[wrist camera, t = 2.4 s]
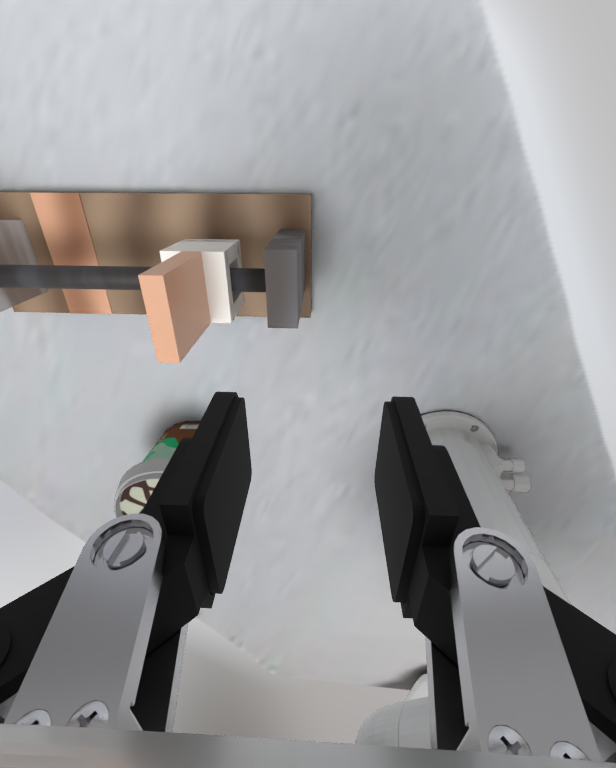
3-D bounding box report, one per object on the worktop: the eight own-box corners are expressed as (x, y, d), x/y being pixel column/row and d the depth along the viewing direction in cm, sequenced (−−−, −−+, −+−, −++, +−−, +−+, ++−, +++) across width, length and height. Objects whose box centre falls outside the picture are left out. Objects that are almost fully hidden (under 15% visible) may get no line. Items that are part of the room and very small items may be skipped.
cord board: (311, 193, 30) (304, 204, 20) (310, 312, 35) (304, 368, 25) (-21, 191, 31) (-188, 200, 21) (25, 306, 36) (-91, 358, 26)
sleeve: (239, 239, 26) (192, 275, 17) (244, 301, 29) (205, 363, 19) (184, 239, 26) (108, 274, 17) (194, 301, 29) (132, 361, 20)
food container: (158, 397, 40) (112, 458, 32) (212, 413, 41) (181, 477, 33) (145, 473, 46) (104, 542, 38) (193, 486, 47) (163, 556, 39)
